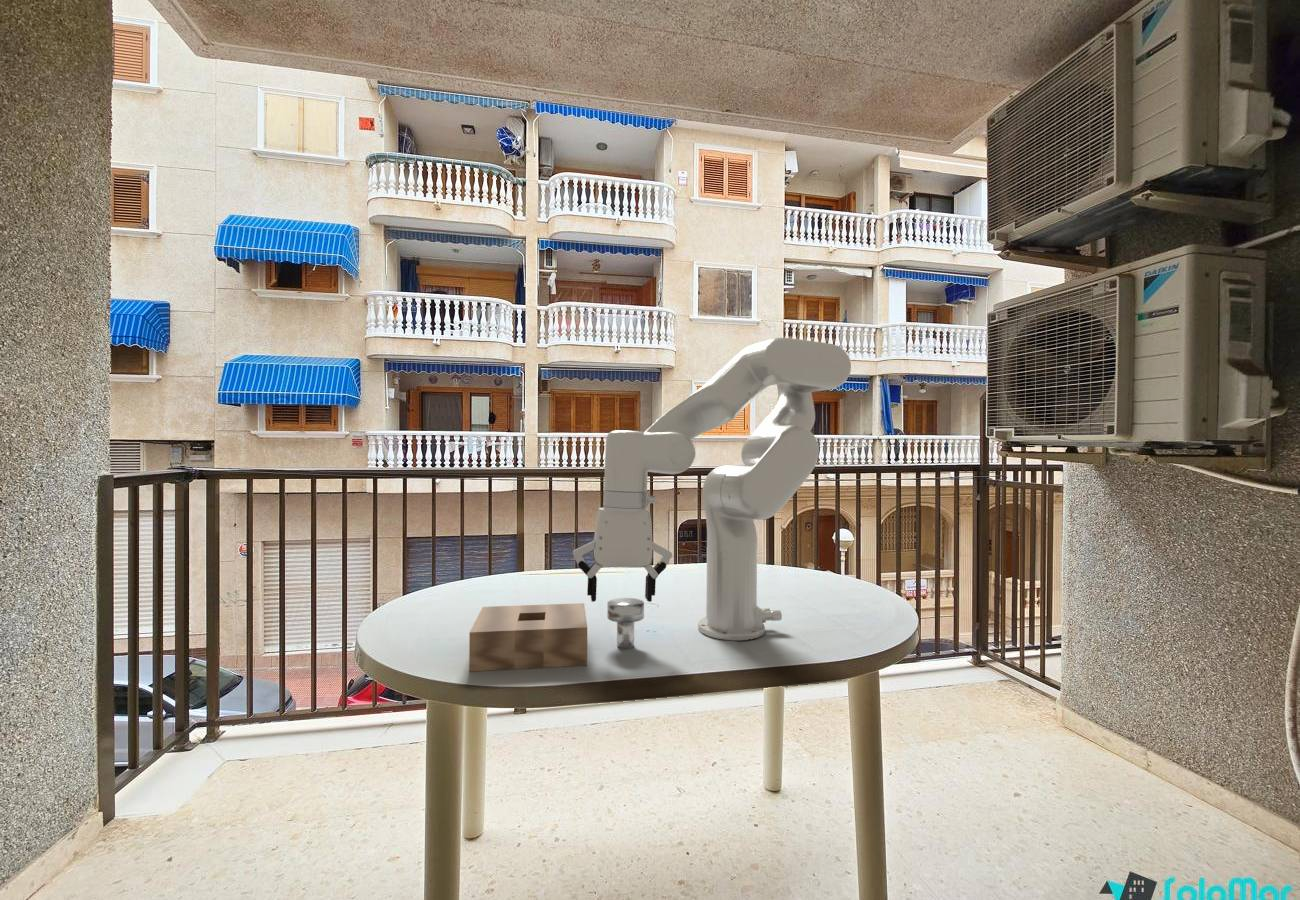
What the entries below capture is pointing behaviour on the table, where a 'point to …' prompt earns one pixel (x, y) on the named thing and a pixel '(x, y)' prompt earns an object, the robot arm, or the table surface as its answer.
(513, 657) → the walnut block
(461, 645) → the table surface
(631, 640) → the steel pin
